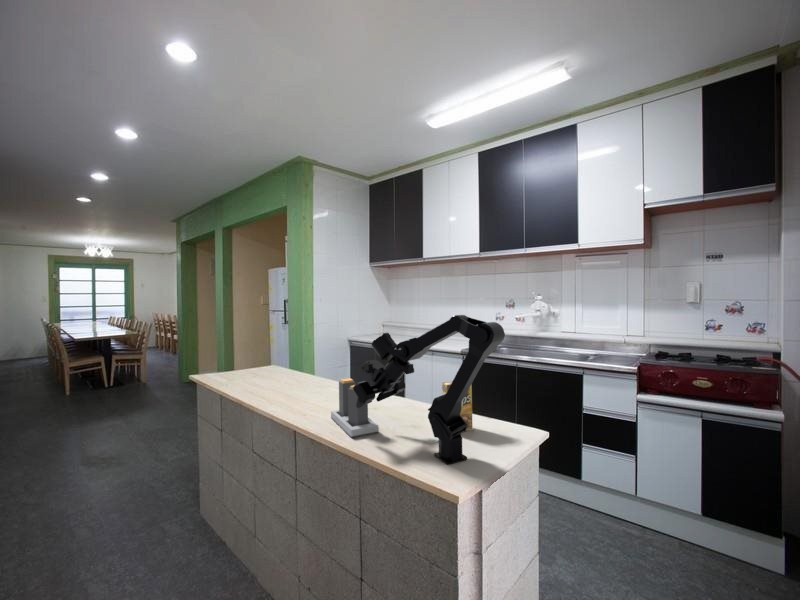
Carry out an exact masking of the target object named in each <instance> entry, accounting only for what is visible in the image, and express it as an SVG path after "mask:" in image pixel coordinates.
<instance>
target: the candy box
mask: <svg viewBox="0 0 800 600" xmlns="http://www.w3.org/2000/svg"><path fill="white" fill-rule="evenodd" d="M451 383H452V381H445V382H441V394H442V395H444V394H446V393H447V391H448V389H449V387H450V385H451ZM472 384H473V383H472ZM472 384H471V386H470V387H469V389H468V391H467V393H466V395H465V396H464V398H463V400H462V408H461V413H460V416H461V417H462V418H463V420H464V421H465V422H466V423H467V429H466V431H465V432H467V431H473V429H474V427H473V391H472V390H473V387H472V386H473V385H472ZM442 395H441V396H442Z"/></svg>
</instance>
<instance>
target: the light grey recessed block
mask: <svg viewBox="0 0 800 600" xmlns="http://www.w3.org/2000/svg"><path fill="white" fill-rule="evenodd" d="M330 418H331V420H332V421H333V422H334V423H335V424H336V425H337V426H338V427H339V428H340V429H341V430H343V432H344V433H346V435H347V436H348V437H350V439H355V438H360V436H361V437H364V436H365V435H366V436H370V435H376V434H379V424H377V423H376V422H375V421H374V420H372V419H371V418H369V417H368V424H365V425H359V426H354V427H352V426H351V425H350V424H349V423H348V416H344V417H341V416H340V415H339V409H336V410H331V411H330ZM366 436H365V437H366Z"/></svg>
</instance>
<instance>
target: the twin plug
mask: <svg viewBox="0 0 800 600" xmlns="http://www.w3.org/2000/svg"><path fill="white" fill-rule="evenodd" d="M355 384H356V381H354V379H352V378H349V377H347V378H340V380H339V381H338V405H339V406H338V408H339V409H338V410H339V415H340V416H341V417H344V416H348V389H349V388H350V386H353V385H355Z"/></svg>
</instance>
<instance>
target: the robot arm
mask: <svg viewBox="0 0 800 600" xmlns="http://www.w3.org/2000/svg"><path fill="white" fill-rule="evenodd" d="M458 333H459V334H460V335H462V336H463V337H465V338H467V339H469V340H468V351H467V354H466V356H465V357H464V359H463V360H462V362H461V365H460V366H459V368H458V371H457V372H456V374H455V376H454V378H453V380H451V382H452V383H451V385H450V387H449V389H448V391H447V393H446V394H444V395H439V396H437V397H434V398H433V401H432V403H431V406H430V407H429V408H428V409H427V411H429V412H428V414H427V418H428V422H429V425H430V426H431V430H432V434H433V437H434V438H436V439H438V452H435V453H434V454H433V456H434V457H436V458H437V459H439V460H440V461H441V462H443V463H445V464H446V465H450V464H454V463H459V462H461V461H462V462H463V461H465V460H466V461H467V460H468V456H466V455H465V454H463V436H462V434H463V433H465V432H467V431H466V429H467V423H466V422H465V421H464V420H463V418H462V417H461V416H460V413H461V408H462V400H463V398H464V396H465V395H466V393H467V391H468V389H469V387H470V386H471V384H473V383H474V380H475V378H476V377H477V375H478V373H479V371H480V369H481V368H482V366H483V364H484V362H485V361H486V359H487V358H488V357H489V356H490V355H491V354H492V353H494V351H496V350H497V348H498V347H499V346H500V344H501V343H503V341H504V339H505V337H506V332H505V330H504V328H503V326H502V325H501V324H500V323H498V322H496V321H495V322H494V321H490V322H486V321H483V320H481V319H478V318H477V319H476V318H472V317H470V316H468V315H465V314H455V315H453V316H451V317H450V318H449V319H447V320H446V321H444V322H442V323H441V324H438V325H436V327H433V328H432V329H430V330H428V331H426V332H425V333H423V334H422V335H419V336H416V337H411V338H409V339H405V340H402V341H399V343H396V342H395V341H394V339H393V338H392V336H391V334H390V333H389V332H384V333H382V335H380V336H378V337H377V338H376V339H374V340H373V341H372V343H371V348H372V349H373V350H374V352H375V353H376V354H377V355H378V357H379V359H380V360H381V361H386V362H387V363H386V365H384V364H383V363H381V362H380V361H378V360H377V359H371V360H370V359H369V360H366V361H365V362H364V363H363V364H361V371H362V372H363V373H365V374H366V375H367V374H368V375H370V376H371V377H370V380H371V381H372V382H374V383H373V385H372V386H371V384H370V383H369V382H368V381H366V380H363V381H359V382H355V385H354V387H353V390H354V391H355V393H356V394H357V396H358V399H357V403H356V407H357V408H360V407H362V406H364V405H366V404H368V405H369V404H370V403H372V402H373V400H376V402H381V401H383V400H385V399H387V398H388V399H389V398H390V397H392V396H396V395H397V394H399V393H401V392H403V391H404V390H405V389H406V383H405V381H404V379H402V376H403V375H404V374H405V375H410V374H414V373H415V368H414V363H411V362H410V361H415V360H420V358H422V357H423V356H424V355H425V354H427V353H428V351H429V350H430V349H431V348H432V347H434V346H436V345H437V344H439V343H442V342H443V341H445V340H447V339H448V338H450V337H452V336H454V335H456V334H458ZM377 394H378V395H377ZM376 395H377V396H376Z"/></svg>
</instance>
